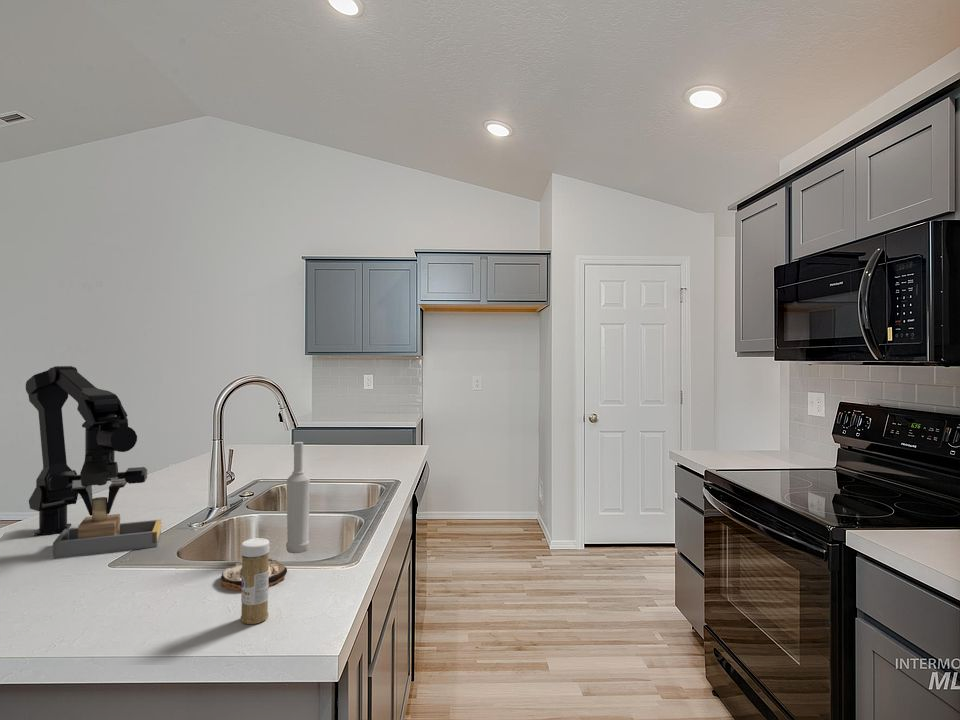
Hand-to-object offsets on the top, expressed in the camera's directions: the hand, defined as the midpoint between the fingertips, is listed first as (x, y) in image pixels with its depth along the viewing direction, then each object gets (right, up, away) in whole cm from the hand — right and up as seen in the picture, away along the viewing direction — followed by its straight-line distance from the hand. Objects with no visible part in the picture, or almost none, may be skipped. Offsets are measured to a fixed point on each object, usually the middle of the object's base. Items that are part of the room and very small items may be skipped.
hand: (99, 514), depth 135 cm
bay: (+2, -8, +1) cm, 8 cm away
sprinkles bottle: (+50, -9, -35) cm, 62 cm away
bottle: (+47, -8, -1) cm, 47 cm away
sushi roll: (+43, -9, -18) cm, 48 cm away
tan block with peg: (0, -6, 0) cm, 6 cm away
